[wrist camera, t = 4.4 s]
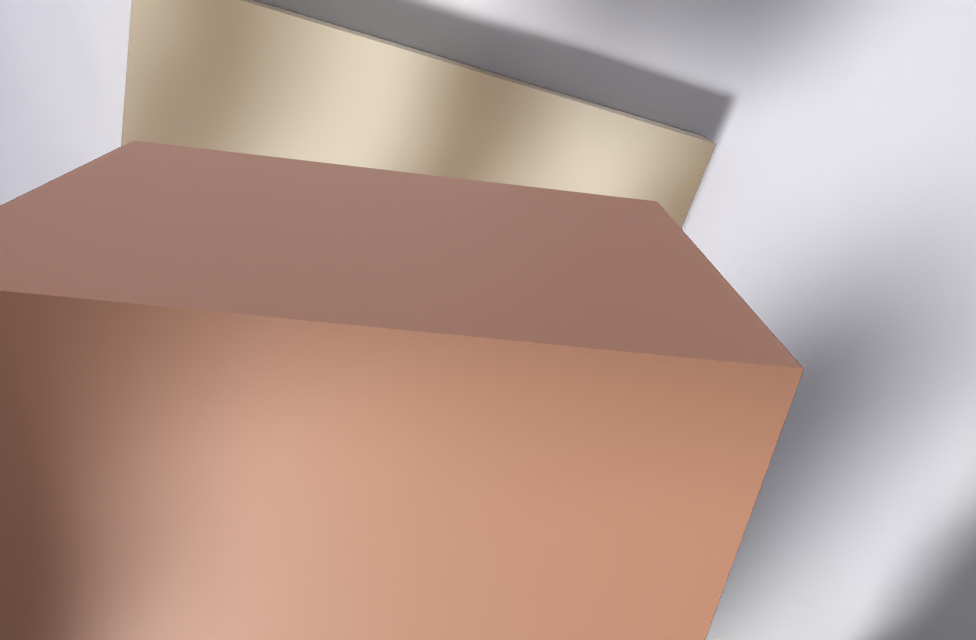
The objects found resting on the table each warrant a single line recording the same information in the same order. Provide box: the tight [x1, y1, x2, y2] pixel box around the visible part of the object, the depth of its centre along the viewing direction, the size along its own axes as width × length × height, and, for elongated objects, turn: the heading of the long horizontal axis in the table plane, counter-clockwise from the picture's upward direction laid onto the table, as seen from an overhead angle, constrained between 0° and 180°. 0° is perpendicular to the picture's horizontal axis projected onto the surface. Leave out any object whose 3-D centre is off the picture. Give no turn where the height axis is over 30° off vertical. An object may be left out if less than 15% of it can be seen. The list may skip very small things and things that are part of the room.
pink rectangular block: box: [0, 141, 804, 640], centre depth 8 cm, size 6×9×4 cm, turn 173°
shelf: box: [121, 0, 716, 228], centre depth 18 cm, size 14×17×6 cm
